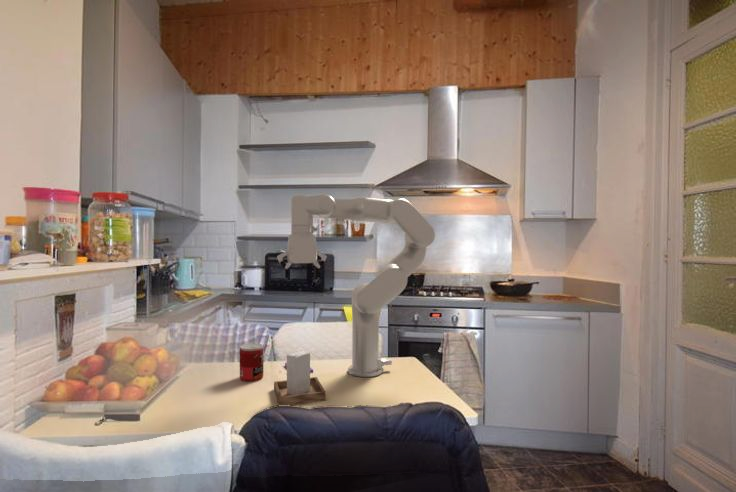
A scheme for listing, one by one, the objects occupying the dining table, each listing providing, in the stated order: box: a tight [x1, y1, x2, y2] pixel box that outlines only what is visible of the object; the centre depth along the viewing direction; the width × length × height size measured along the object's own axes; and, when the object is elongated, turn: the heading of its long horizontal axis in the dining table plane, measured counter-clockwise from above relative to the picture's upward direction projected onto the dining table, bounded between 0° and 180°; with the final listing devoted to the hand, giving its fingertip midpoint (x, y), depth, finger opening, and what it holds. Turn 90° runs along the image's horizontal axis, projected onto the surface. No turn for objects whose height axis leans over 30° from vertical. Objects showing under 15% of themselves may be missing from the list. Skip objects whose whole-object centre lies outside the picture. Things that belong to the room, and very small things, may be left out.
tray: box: [273, 376, 327, 406], centre depth 122 cm, size 14×14×2 cm
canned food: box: [239, 342, 264, 383], centre depth 136 cm, size 8×8×11 cm
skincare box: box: [286, 350, 311, 395], centre depth 122 cm, size 6×4×12 cm
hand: (302, 279), depth 140 cm, fingers open, 9 cm apart
